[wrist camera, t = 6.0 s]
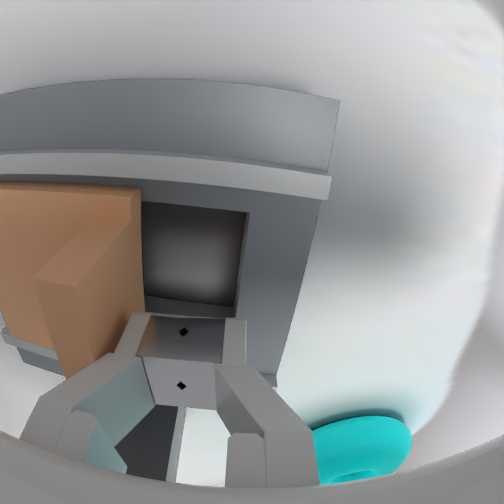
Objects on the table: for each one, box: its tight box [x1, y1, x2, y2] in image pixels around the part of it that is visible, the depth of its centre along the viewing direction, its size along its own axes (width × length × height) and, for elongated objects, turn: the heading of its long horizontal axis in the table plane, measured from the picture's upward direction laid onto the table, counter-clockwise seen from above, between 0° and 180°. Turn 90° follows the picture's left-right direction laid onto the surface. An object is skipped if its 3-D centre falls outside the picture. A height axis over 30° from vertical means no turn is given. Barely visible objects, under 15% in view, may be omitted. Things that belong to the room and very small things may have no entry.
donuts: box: [312, 416, 412, 485], centre depth 15 cm, size 10×10×10 cm
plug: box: [114, 404, 186, 483], centre depth 13 cm, size 4×4×9 cm
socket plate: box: [0, 79, 340, 391], centre depth 10 cm, size 12×12×4 cm
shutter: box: [0, 181, 145, 380], centre depth 7 cm, size 6×6×4 cm
